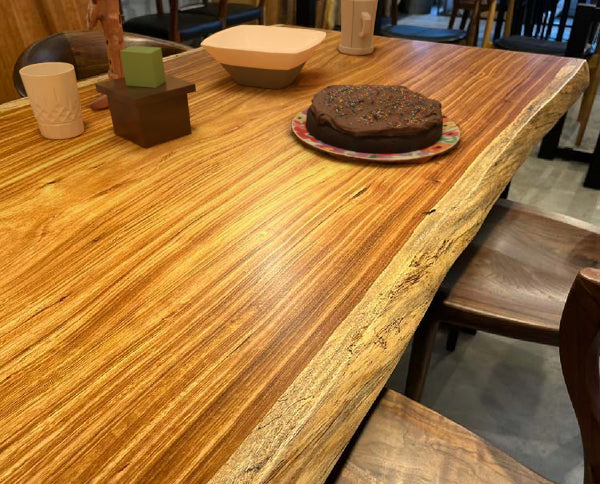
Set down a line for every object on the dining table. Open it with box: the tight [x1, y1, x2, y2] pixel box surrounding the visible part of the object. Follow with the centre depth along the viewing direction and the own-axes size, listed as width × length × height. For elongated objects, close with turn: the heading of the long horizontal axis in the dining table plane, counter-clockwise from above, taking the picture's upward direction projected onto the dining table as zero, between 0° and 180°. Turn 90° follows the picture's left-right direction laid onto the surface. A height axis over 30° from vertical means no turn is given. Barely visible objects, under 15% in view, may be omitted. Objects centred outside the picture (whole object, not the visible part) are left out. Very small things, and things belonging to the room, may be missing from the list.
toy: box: [120, 45, 166, 88], centre depth 82 cm, size 5×4×5 cm
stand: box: [94, 73, 197, 149], centre depth 86 cm, size 11×11×8 cm
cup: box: [338, 0, 379, 56], centre depth 131 cm, size 10×9×12 cm
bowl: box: [199, 24, 327, 90], centre depth 111 cm, size 22×23×8 cm
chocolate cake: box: [290, 84, 462, 164], centre depth 88 cm, size 28×28×7 cm
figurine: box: [83, 0, 126, 110], centre depth 95 cm, size 11×8×20 cm
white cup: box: [18, 61, 85, 140], centre depth 85 cm, size 8×8×10 cm
